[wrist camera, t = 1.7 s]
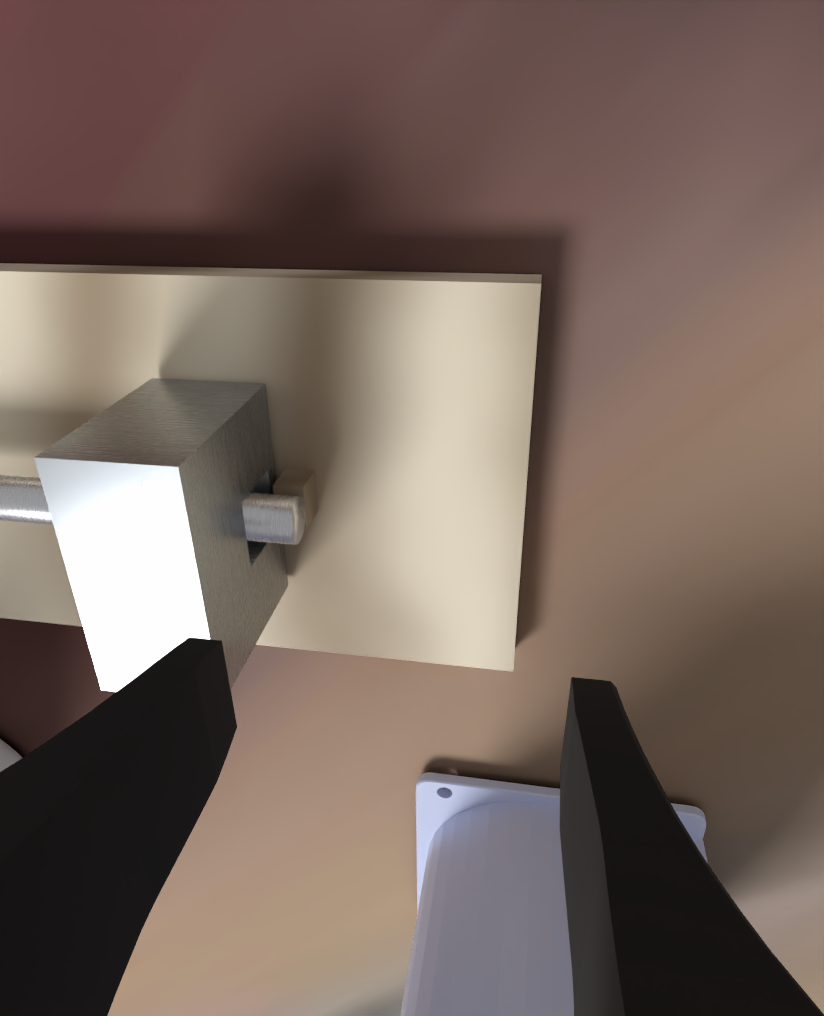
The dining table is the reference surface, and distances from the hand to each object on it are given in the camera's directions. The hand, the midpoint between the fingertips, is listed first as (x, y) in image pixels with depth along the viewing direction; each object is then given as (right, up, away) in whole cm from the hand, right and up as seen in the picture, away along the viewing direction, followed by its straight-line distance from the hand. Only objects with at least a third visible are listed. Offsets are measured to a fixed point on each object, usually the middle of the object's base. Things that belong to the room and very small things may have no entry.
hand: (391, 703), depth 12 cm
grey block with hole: (-5, +4, +7) cm, 9 cm away
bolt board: (-8, +5, +9) cm, 13 cm away
